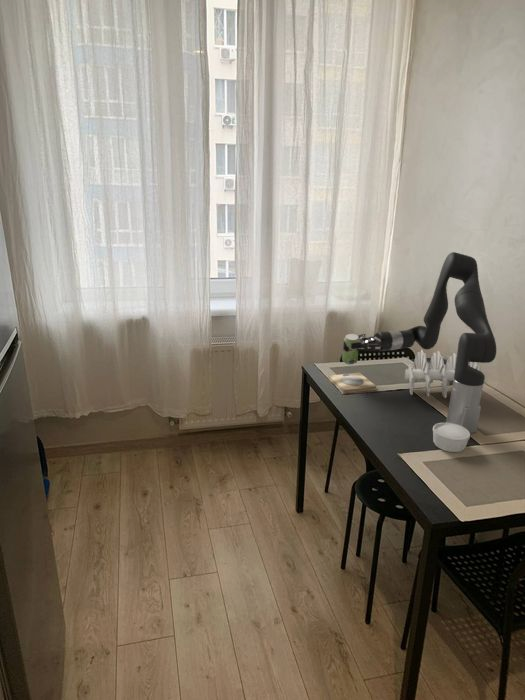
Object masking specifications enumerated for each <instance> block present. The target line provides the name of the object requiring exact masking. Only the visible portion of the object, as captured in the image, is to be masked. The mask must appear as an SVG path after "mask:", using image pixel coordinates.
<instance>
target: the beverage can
mask: <svg viewBox="0 0 525 700" xmlns="http://www.w3.org/2000/svg"><path fill="white" fill-rule="evenodd" d="M358 335H359V334H358ZM358 335H357V334H355V333H348V334H346V335H345V337H344V338H343V347H342V356H341V358H342V359H341V360H342V362H343V363H345V364H347V365H354V364H357V362H358V359H359V358H358V357H359V351H360V350H359V349H360V348H358V349H352V348H351V344H352V343H358V342H360V340H359V337H358Z"/></svg>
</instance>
